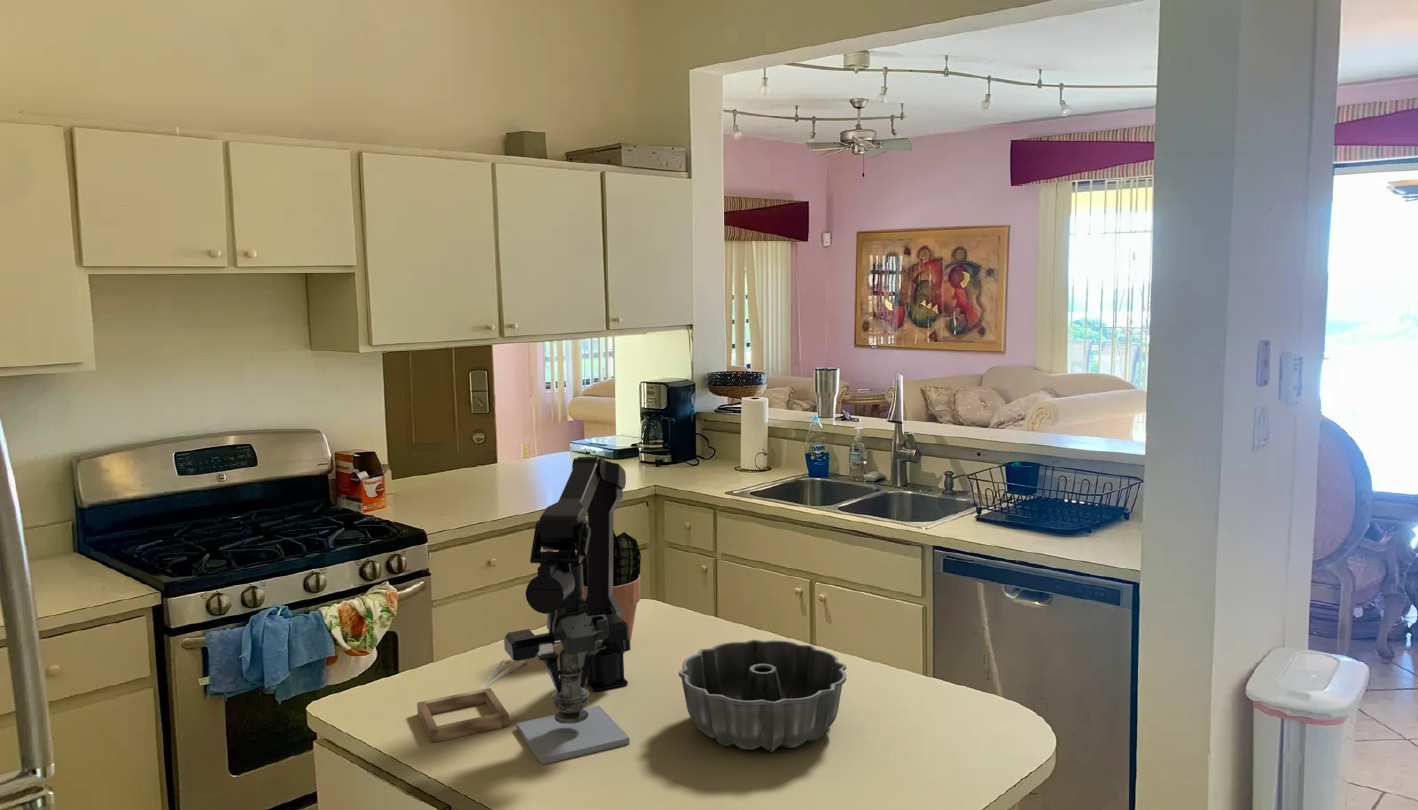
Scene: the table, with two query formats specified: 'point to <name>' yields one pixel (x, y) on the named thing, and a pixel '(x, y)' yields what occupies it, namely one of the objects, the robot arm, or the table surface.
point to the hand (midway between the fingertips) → (570, 688)
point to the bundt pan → (763, 692)
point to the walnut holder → (467, 726)
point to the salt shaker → (570, 691)
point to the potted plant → (623, 576)
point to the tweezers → (502, 672)
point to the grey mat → (571, 736)
